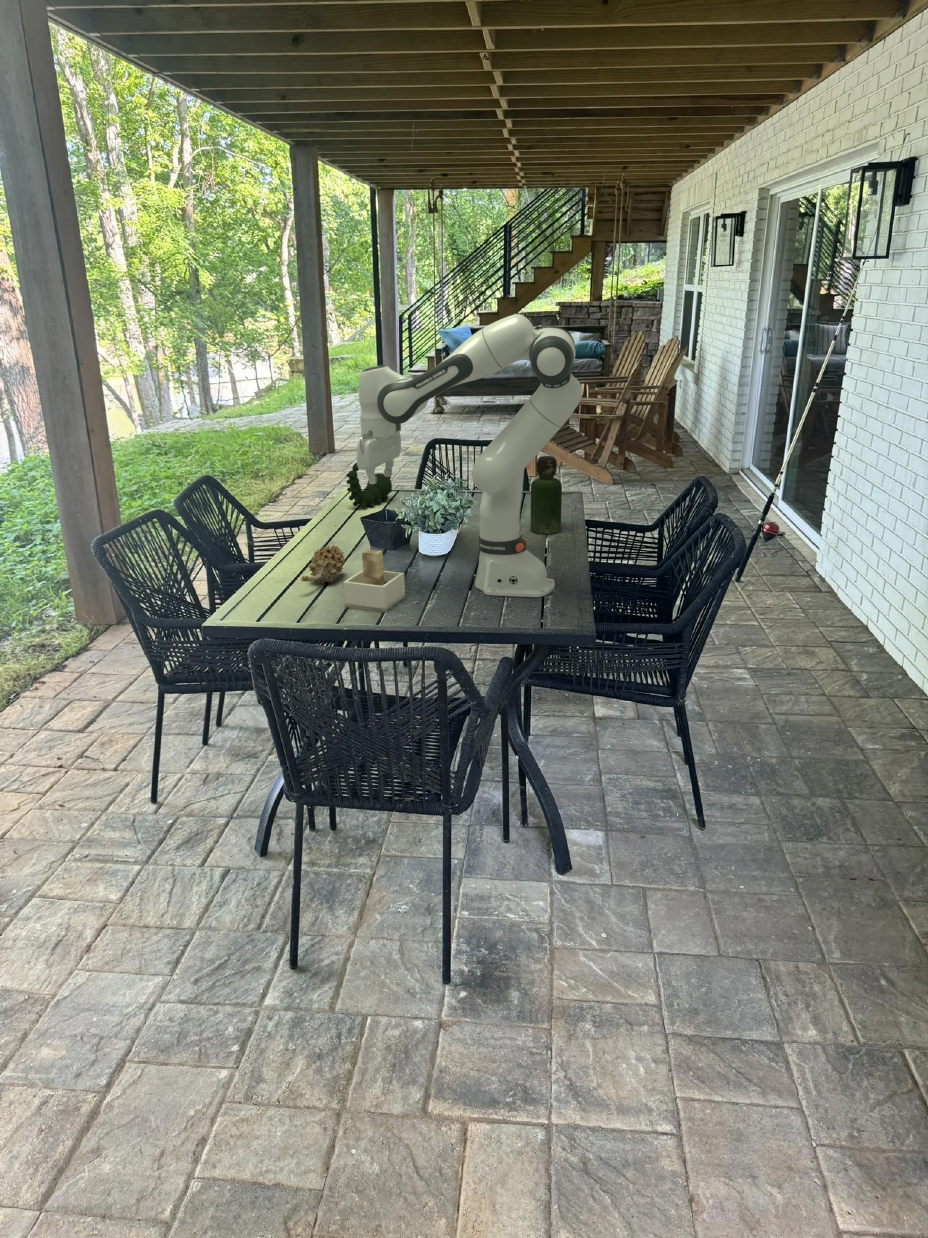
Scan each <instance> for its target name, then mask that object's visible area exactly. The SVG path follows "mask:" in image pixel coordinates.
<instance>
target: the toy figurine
mask: <svg viewBox="0 0 928 1238" xmlns="http://www.w3.org/2000/svg"><path fill="white" fill-rule="evenodd" d="M359 470H360V469H359V468H358V466H357V462H355V463H354V464H353V465H352V470H350V471H349V472H348V473H346V475H345V476H346V478H348V479H347V480H346V484H347V485H348V484H349V487H347V489H346V490H347V492H350V495H349V496H348V499H349V501H353V500H354V501H353V502H352V506H353V507H358V506H359V507H361V508H366V507H369V508H371V509H372V508H374V506H375V504H376V505H380V504H382V502H386V501H387V500H388V499H389V496H388V495H389V494H391V493H392V491H393V484H392V480H391V478H392V475H391V476H389V477H385V476H384V473H381V472H378V473H375V477H377V483H375V484H369V479H368V481H367V483H366V484H367V486H366V487H365V486H364V489H363V490H362V486H361V484H360V479H359V477H358V473H357V472H358V471H359Z"/></svg>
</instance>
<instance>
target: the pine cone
mask: <svg viewBox="0 0 928 1238" xmlns="http://www.w3.org/2000/svg"><path fill="white" fill-rule="evenodd" d="M313 552H314V553H313V554H314V555H313V556H312V557H311V563H310V564H308V568H309V571H310V572H311V573H310V574H309V575H310V576H307V575H301V577H300V581H301V582H306V583H307V582H312V581H318V583H319V584H323V585H324V584H325V582H327V583H330V584H331V582H333V581H334V580H335V579H336V578H338V577H339V576H340V575H339V574H340V573H341V572H342V571H343V569H344V567H343V566H344V564H345V563H346V561H345V552H344V551H343V550H342V549H341V548H339V546H336V545H335V544H333V545H332V546H330V545H328V546H327V545H326V546H321V547H320V549H319V548H317V549H316V551H313Z"/></svg>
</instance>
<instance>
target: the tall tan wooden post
mask: <svg viewBox="0 0 928 1238" xmlns="http://www.w3.org/2000/svg"><path fill="white" fill-rule="evenodd" d="M361 557H362V570H363V575H364V584H372V585H380V586H383V585H384V571H385V570H384V555H383V550H380V549H379V550H378V549H369V548H367V549H366V550H363V551H362V552H361Z"/></svg>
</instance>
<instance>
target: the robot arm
mask: <svg viewBox="0 0 928 1238" xmlns="http://www.w3.org/2000/svg"><path fill="white" fill-rule="evenodd" d="M575 358H576V343H575V340H574V337H573V335H572V334H571V333H570V331H568V330H567V329H566V328H563V327H560V326H556V325H555V326H553V325H552V326H548V325H547V326H545V325H543V326H540V325H538V326H535V327H534V326H533V324H532V322H531V321H530V320H529V319H528V318H527V317H526V316H524V315H523V314H520V313H516V314H512V315H508V316H506V317H503V318H501V319H499V320H496V321H494V322H492V323H490V324H488V325H486V326H485V327H483V328H481V329H479V330H478V331H476V332H474V333H473V334H472V335H470V336H469V337H468V338H467V339H466V340H464V341H463V342H462V343H461V344H460V345H459V346H458V347H457V348H456V349H454V350H453V351H452V352H451V353H450V354H449V355H448V356H447V357H446V358H445V359H443V360H442V361H441V362H440V363H438V364H437V365H435V366H434V367H432V368H430V369H429V370H425V372H422V373H421V374H419V375H417V376H416V377H409V376H405V375H402V374H400V373H398V372H396V371H395V370H392V369H391V368H390V366H388V365H386V364H384V365H383V364H380V365H376V366H371V367H367V368H365V369H363V370H362V371H361V372H360V374H359V377H358V402H359V405H360V409H361V410H360V411H361V412H360V418H359V419H360V432H361V433H360V434H361V435H360V438H359V440H358V442H357V445H356V463H357V466H358V468H359V470H360V471H365V473H366V476H367V478H368V480H369V484H375V483H377V477H375V474H376V473H375V471H376V468H377V467H379V466H381V465H383V464H385V467H384V469H383V474H384V476H385V477H389V476H391V477H392V476H393V468H394V464H395V463H394V461H395V459H397V458H399V457H400V456H401V451H402V437H401V436H402V435H401V430H402V424H404V423H406V422H408V421H409V420H410V419H411V418H413V417H414V416H416V415H418V414H420V413H421V412H422V411H423V410H424V409H425V408H426V407H427V405H428V402H429V400H431V399H432V398H434V397H437V396H438V395H440V394H441V393H443V392H445V391H447V390H448V389H450V388H453V387H456V386H459V385H461V384H464V383H468V382H471V381H476V380H480V379H482V378H483V379H484V378H486V377H489V376H491V375H494V374H496V373H498V372H500V371H502V370H503V369H505V368H507V367H509V366H510V365H512V364H513V363H516V362H519V361H529V363H530V366H531V368H532V371H533V373H534V374H535V376H536V377H537V378H538V380H539V382H540V384H539V385H538V388H537V389H536V391H534V393H533V394H532V395H531V396H530V397H529V398H528V400H527V401H526V402H525V403H524V405H522V407H521V408H520V409H519V411H518V412H517V413H516V414H515V415H514V417H512V419H511V420H510V421H509V422H508V423H507V424H506V425H505V426H504V428H503V429H502V430H501V431H500V432H499V433H498V434H497V435H496V436H495V437H494V439H493V440H492V441H491V442H490V443H489V444H488V445H487V447H486V448H485V449H484V450H483V451H482V452H481V453H480V455H478V457H477V458H476V460H475V462H474V464H473V466H472V469H471V479H472V481H473V484H474V485H475V487H477V488H478V489H479V490H480V491H482V494H481V495H482V496H481V501H480V505H479V511H478V512H479V535H478V538H477V539H478V540H477V550H478V555H479V558H478V565H477V566H478V567H477V573H476V578H475V580H474V581H475V582H474V586H475V587H476V589H478V590H480V591H482V592H483V593H484V594H485V595H487V596H500V597H501V596H502V597H503V596H504V597H521V598H540V597H541V598H542V597H545V596H547V595H548V594H550V593H551V592H552V591H553V590H554V589H555V587H556V583H555V580H554V579H553V578H549V577H548V573H547V568H546V565H545V562H543V561H541V559H539V558H538V557H536V556H535V555H534V554H533V553H532V552H530V551H529V550H528V549H527V543H529V542H528V537H527V538H523V537H522V535H521V534H520V530H521V521H520V520H521V502H522V501H521V500H522V495H523V488H524V487H523V485H524V474H525V469H526V468H527V466H528V465H529V464H530V463H531V462H532V461H533V460H534V458H535V457H536V456H537V455H538V454H539V453H540V452H541V451H542V450H543V449H544V448H545V446H547V445H548V443H549V442H550V441H551V440H552V438H553V437H554V436H555V435H556V434H557V433H558V431H559V430H560V429H561V428H562V427H564V424H565V423H566V422H568V420H569V419H570V417H572V414H573V413H574V411H575V409H576V408H578V405H579V403H580V402H581V400H582V398H583V387H582V385H581V383H580V382H579V380H578V379H577V378H576V377H575V376H574V375H573V374H572V371H573V367H574V362H575Z"/></svg>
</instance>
